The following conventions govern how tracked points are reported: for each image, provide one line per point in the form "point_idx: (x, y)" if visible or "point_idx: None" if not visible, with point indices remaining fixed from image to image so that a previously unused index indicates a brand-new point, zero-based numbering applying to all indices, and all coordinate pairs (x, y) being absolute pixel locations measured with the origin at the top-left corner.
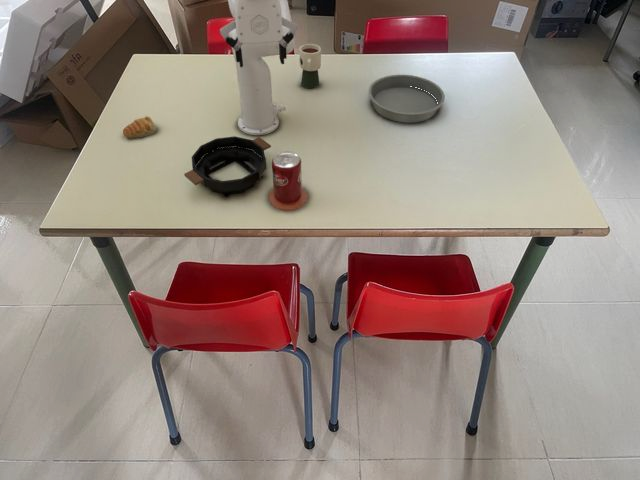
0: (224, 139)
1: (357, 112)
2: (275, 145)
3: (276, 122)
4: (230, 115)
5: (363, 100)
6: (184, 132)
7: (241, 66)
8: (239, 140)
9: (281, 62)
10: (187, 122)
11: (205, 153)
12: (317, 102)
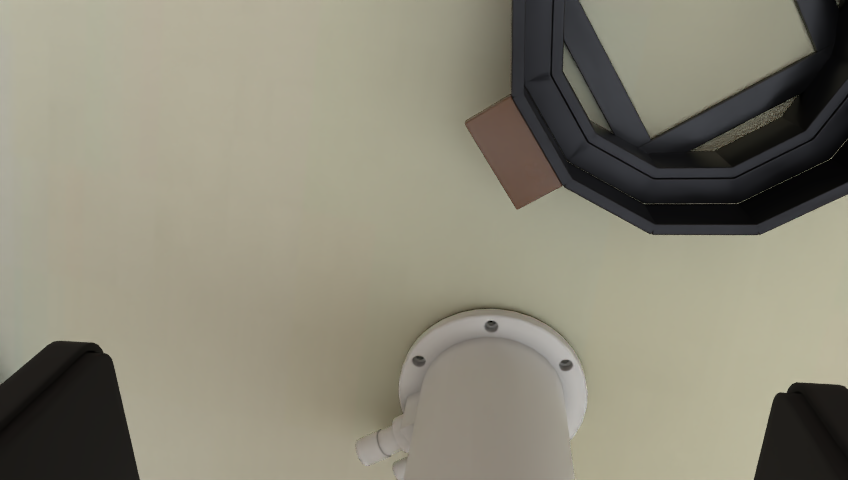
0: (712, 222)
1: None
2: (436, 225)
3: (409, 370)
4: (606, 468)
5: None
6: None
7: (821, 387)
8: (628, 205)
9: (85, 358)
10: None
11: (822, 166)
12: (222, 472)
